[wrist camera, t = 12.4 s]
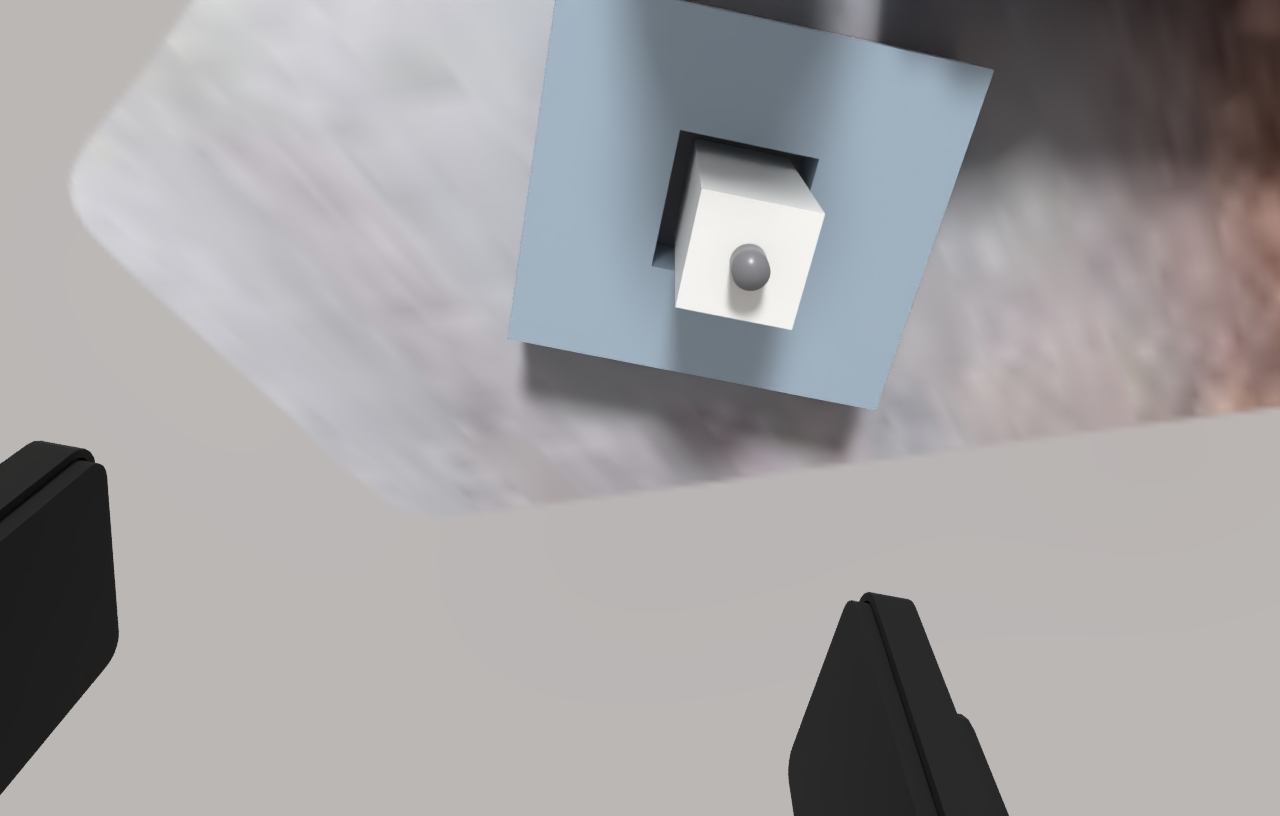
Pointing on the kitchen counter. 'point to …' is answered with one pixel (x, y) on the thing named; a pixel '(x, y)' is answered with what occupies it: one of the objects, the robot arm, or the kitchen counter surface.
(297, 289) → the kitchen counter surface
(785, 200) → the white square peg
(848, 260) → the socket plate
